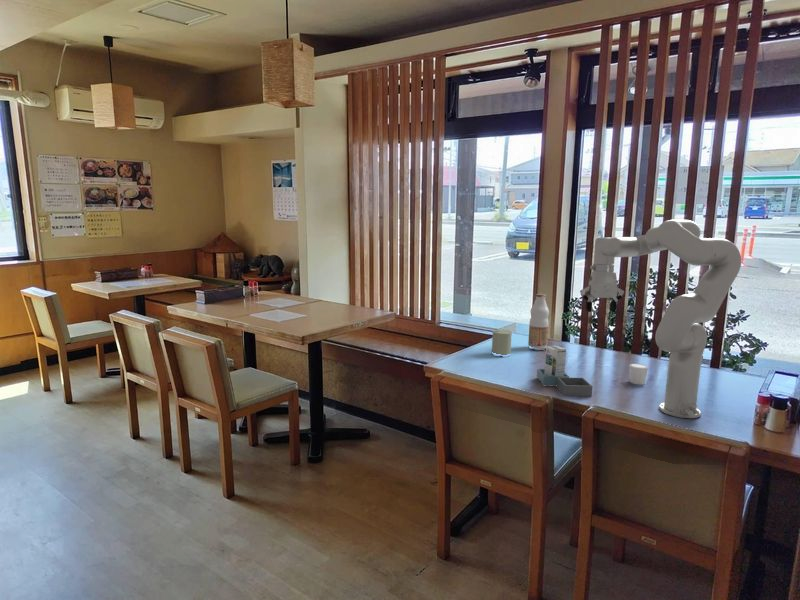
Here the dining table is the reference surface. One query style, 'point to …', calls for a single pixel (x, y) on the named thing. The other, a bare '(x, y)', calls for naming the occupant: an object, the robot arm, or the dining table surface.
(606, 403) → the dining table surface
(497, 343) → the can
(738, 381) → the dining table surface
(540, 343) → the fruit juice
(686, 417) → the robot arm
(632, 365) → the white cup
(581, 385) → the charcoal bin
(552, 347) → the syrup box
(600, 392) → the dining table surface
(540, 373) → the slate bin
